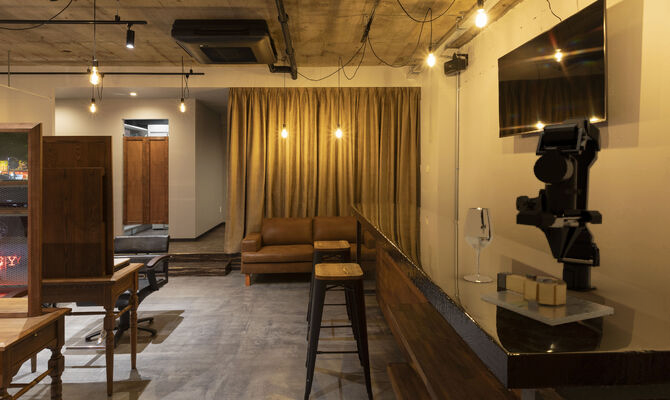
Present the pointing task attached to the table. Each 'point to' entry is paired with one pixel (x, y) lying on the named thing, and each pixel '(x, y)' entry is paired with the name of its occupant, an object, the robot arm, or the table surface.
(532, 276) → the octagonal ring with handle
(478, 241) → the wineglass
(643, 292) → the table surface
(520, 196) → the robot arm
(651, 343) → the table surface
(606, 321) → the table surface
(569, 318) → the post base
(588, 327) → the table surface
